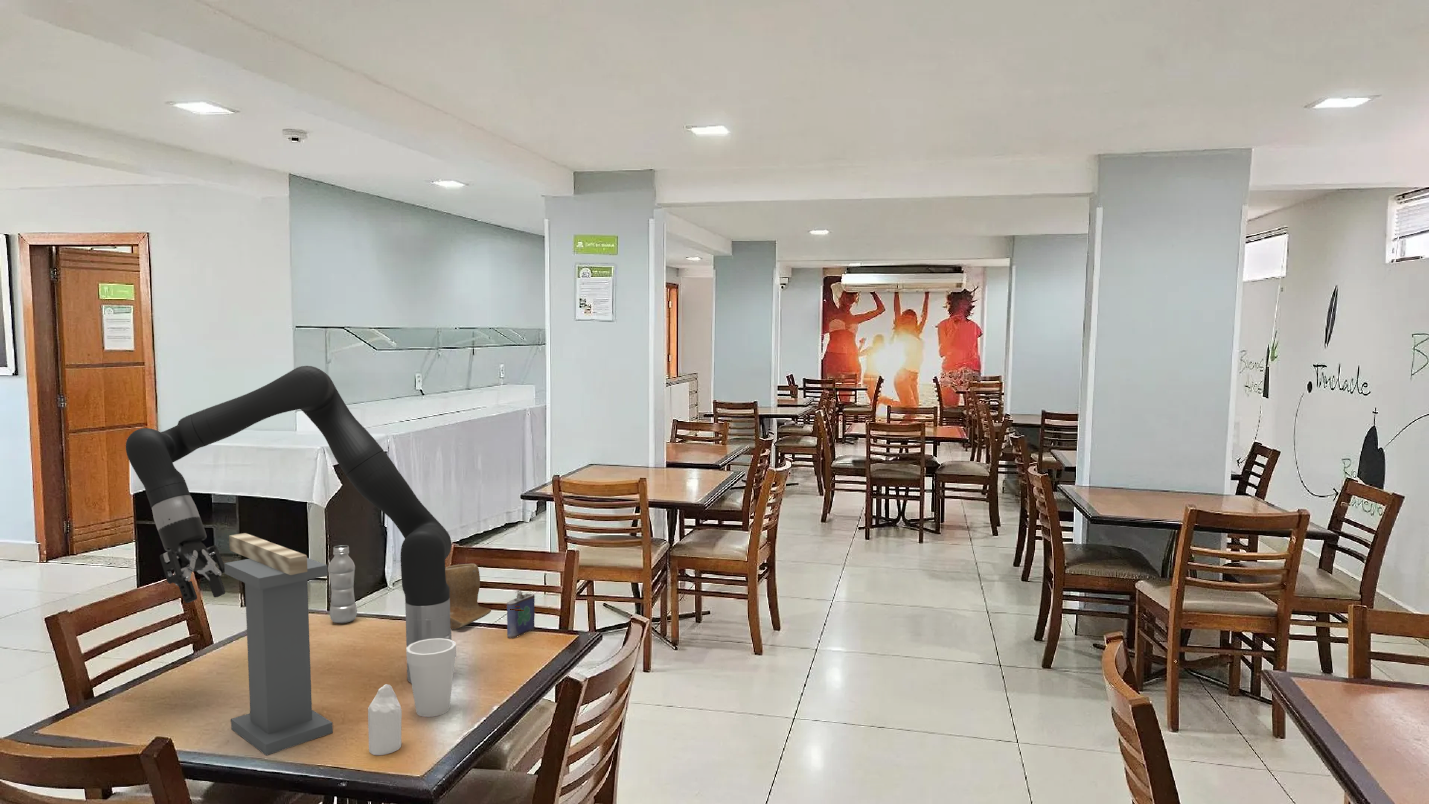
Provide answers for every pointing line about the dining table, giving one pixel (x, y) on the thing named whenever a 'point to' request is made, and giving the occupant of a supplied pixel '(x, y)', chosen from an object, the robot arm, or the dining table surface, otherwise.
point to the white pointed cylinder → (384, 722)
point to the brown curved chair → (464, 594)
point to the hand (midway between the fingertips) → (206, 598)
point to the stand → (278, 657)
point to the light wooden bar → (268, 553)
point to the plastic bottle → (342, 586)
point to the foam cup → (431, 674)
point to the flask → (520, 615)
